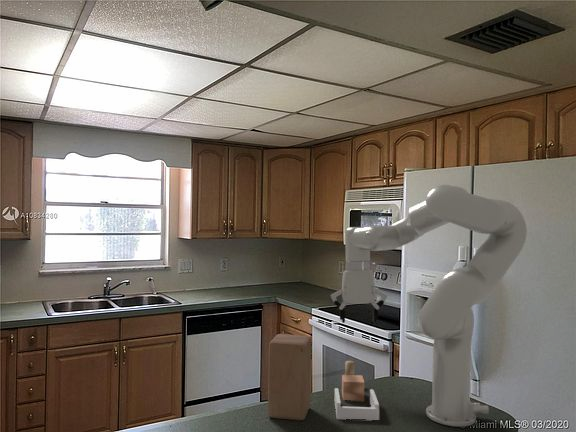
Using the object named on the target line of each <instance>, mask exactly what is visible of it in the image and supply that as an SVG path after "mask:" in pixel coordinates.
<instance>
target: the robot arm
mask: <svg viewBox="0 0 576 432" xmlns="http://www.w3.org/2000/svg"><path fill="white" fill-rule="evenodd" d="M407 212H408V213H407V216H406V217H404V218H402V219H401V220H399V221H397V222H395V223H392V224H390V225H370V226H350V227H347V228H346V229H345V232H344V233H345V234H344V236H345V240H344V241H345V270H344V271H343V272H342V280H341V281H342V282H341V289H339V290H338V291H336V292H335V291H334V293H331V294H330V298H331V300H332V301H333V302H332V303H333V304H334V305H335V306H336V307H337V308H338V309H339V320H340V321H341V322H342V323H343V324H344V323H346V314H345V313H346V309H345V307H346V306H347V305H348V304H350V305H351V304H353V305H354V304H356V305H357V304H359V305H360V304H361V305H362V304H363V305H364V304H371V306H373V308H372V321H373V323H377V320H379V309H380V308H381V307H382V306H383V305H384V304H385V302H386V299H387V297H388V295H387V294H386V293H385V292H382V291H381V290H378V289H376V285H375V277H374V273H373V272H374V271H373V270H371V269H372V268H375V267H376V262H372V261H371V252H378V251H392V250H395V249H398V248H401V247H403V246H405V245H408V244H410V243H413V242H414V241H416V240H418V239H419V238H421V237H423V236H424V235H425V234H426V233H429V232H431V231H433V230H436V229H439V228H440V227H443V226H445V225H446V224H447V225H448V224H454V225H456V226H458V227H461V228H464V229H465V230H466V229H467V230H470V231H472V232H475V233H479V234H485V235H486V234H487V235H489V236H488V237H487V238H486V240H485V241H484V242H483V243H482V244H481V245H480V246H479V248H477V250H476V252H475V254H474V255H473V256H472V258H471V259H470V261H469V262H468V263H467V264H466V265H465V266H463V267H459V268H454V269H452V270H450V271H449V272H447V273H446V274H445V275H444V276H443V278H441V280H440V281H439V282H438V284H437V286H436V287H434V290H433V292H432V293H431V294H430V295H429V297H428V298H427V300H426V302H425V303H424V304H423V306H422V308H421V309H420V312H419V315H418V324H419V329H420V330H421V331H422V333H423V334H424V335H425V336H426V337H427V338H429V339H431V340H433V348H432V383H431V384H432V385H431V387H432V388H431V389H432V394H431V395H432V396H431V400H432V401H431V404H430V405H429V406H427V407H426V409H425V414H426V416H427V417H428V418H429V419H430V420H431V421H433V422H435V423H438V424H441V425H445V426H450V427H460V428H461V427H469V426H472V425H474V424H475V423H476V421H477V416H476V415H477V413H481V414H489V412H490V408H489V405H482V404H481V402H472V401H471V360H472V359H471V357H472V355H471V354H472V353H471V351H472V340H473V339H472V338H473V333H474V326H475V315H474V311H473V310H472V307H473V306H474V305H479V304H481V303H484V302H485V301H487V300H488V299H489V297H491V295H492V293H493V292H494V290H495V289H496V287H497V286H498V284H500V282H501V280H502V279H503V278H504V276H505V275H506V274H507V272H508V271H509V269H510V268H511V266H512V265H513V263H514V262H515V260H517V258H518V256H519V255H520V253H521V251H522V250H523V247H524V246H525V244H526V239H527V232H528V231H527V228H528V227H527V224H526V220H525V218H524V215H523V214H522V211H520V210H519V208H518V207H516V206H515V205H514V204H513V203H511V202H509V201H506V200H502V199H494V198H493V199H492V198H487V197H485V196H484V197H483V196H480V195H477V194H474V193H473V194H472V193H470V192H468V190H467V189H465V188H463V187H461V186H456V185H449V184H441V185H440V184H439V185H437V186H435V187H433V188H432V189H431V190H430V191H429V192H428V193H427V196H426V198H425V199H423V200H422V201H419V202H418V203H415V204H413V205H411V206H410V207H409V209H408V211H407ZM376 295H377V296H379V297H380V300H379V301H378V302H376ZM339 296H341V300H342V301H341V302H340V301H338V299H337V297H339Z"/></svg>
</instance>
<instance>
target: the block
mask: <svg viewBox="0 0 576 432" xmlns="http://www.w3.org/2000/svg"><path fill="white" fill-rule="evenodd" d="M344 365H345V366H344V369H345V370H344V371H345V372H344V374H342V375H341V397H342V401H343V400H348V401H347V402H365V380H364V377H363V375H362V374H361V375H360V374H359V375H357V374H355V361H353V360H346V361H345V364H344ZM349 400H351V401H349ZM353 400H354V401H353ZM357 400H359V401H357Z"/></svg>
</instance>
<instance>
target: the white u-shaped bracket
mask: <svg viewBox="0 0 576 432" xmlns="http://www.w3.org/2000/svg"><path fill="white" fill-rule="evenodd" d="M339 391H340V390H339V388H338V387H334V399H333V400H334V402H335V403H334V408H335V409H336V410H335V409H334V410H335V415H336V416H335V417H336V420H346V419H350V420H351V419H366V420H365V421H372V420H379V421H380V404H379V401H378V398H377V395H376V392H375V390H374V389H372V388H371V389H369V407H367V406H345V405H342V406H341V403H342V402H341V397H340V392H339ZM370 405H371V406H370ZM351 421H352V420H351Z"/></svg>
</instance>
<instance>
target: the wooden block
mask: <svg viewBox="0 0 576 432" xmlns="http://www.w3.org/2000/svg"><path fill="white" fill-rule="evenodd" d="M311 373H312V338H311V336H309V335H304V334H303V335H299V334H287V333H279V334H278V333H277V334H276V335H275V336H274V337H273V339H272V340H271V341H270V342H269V344H268V382H267V383H268V388H267V389H268V390H267V392H268V393H267V397H268V398H267V415H268V417H269V418H275V419H283V420H284V419H285V420H293V421H301V420H302V421H305V419H306V416H307V414H308V412H309V409H310V407H311V383H312V381H311V379H312V378H311V376H312V375H311Z"/></svg>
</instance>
